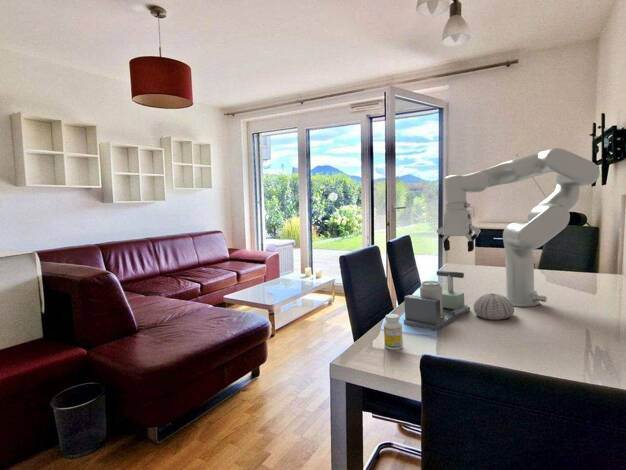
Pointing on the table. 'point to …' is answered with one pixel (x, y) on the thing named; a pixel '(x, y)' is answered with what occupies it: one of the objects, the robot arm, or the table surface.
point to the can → (432, 291)
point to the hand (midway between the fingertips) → (458, 250)
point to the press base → (429, 312)
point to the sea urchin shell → (493, 307)
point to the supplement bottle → (393, 332)
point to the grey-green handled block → (451, 291)
